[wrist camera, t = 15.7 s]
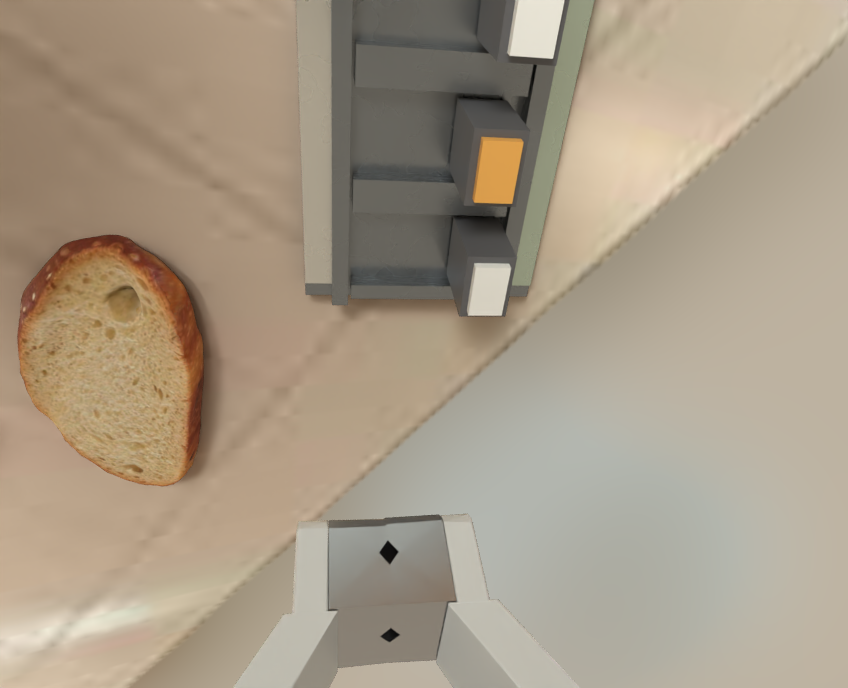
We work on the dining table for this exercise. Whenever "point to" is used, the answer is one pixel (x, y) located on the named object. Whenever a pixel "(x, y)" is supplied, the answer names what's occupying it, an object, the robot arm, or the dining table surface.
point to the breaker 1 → (480, 266)
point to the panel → (412, 140)
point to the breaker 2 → (522, 30)
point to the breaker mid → (488, 152)
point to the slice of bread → (115, 358)
